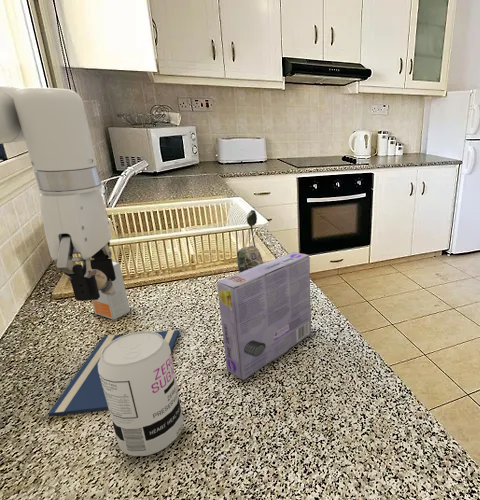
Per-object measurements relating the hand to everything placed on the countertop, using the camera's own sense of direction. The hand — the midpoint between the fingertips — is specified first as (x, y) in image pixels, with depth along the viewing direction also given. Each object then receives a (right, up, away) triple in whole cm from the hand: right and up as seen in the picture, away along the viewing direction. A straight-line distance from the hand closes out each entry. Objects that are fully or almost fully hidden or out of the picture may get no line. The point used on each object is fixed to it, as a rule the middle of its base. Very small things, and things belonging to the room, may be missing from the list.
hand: (97, 288), depth 61 cm
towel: (+2, -15, +5) cm, 15 cm away
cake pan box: (+27, -13, +11) cm, 32 cm away
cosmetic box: (-11, -8, +22) cm, 25 cm away
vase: (0, -2, 0) cm, 1 cm away
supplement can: (+13, -20, -8) cm, 25 cm away
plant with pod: (+18, -4, +34) cm, 38 cm away
